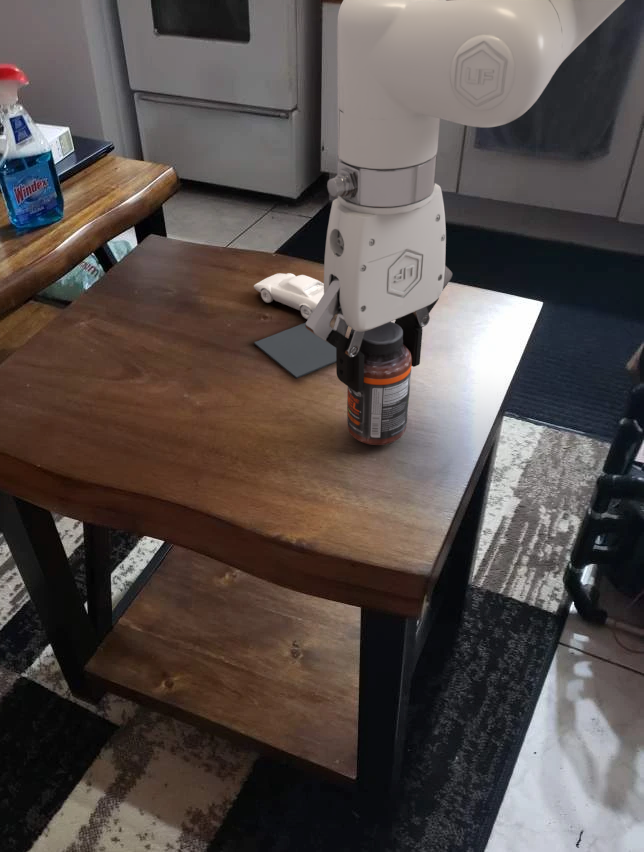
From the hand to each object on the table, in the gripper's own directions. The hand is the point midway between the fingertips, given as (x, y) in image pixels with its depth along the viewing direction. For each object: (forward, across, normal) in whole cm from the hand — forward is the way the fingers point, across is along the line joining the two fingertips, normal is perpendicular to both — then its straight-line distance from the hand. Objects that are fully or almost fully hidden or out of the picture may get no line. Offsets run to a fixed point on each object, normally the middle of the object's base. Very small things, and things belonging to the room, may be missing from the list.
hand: (378, 370), depth 70 cm
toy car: (+7, +9, +27) cm, 29 cm away
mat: (+7, +4, +18) cm, 19 cm away
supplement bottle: (+7, 0, 0) cm, 7 cm away
